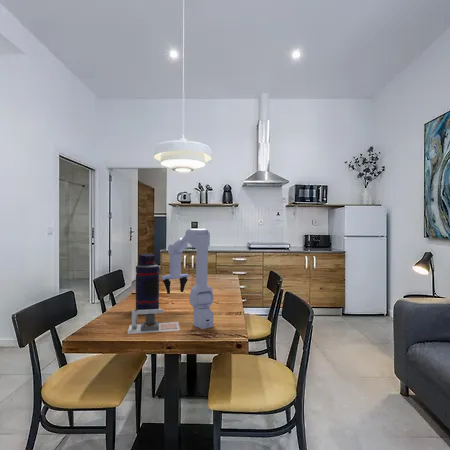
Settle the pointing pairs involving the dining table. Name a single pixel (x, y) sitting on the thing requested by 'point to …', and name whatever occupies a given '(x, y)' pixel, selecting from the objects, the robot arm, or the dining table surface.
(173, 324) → the pad
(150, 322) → the plug
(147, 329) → the dock board
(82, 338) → the dining table surface
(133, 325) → the retention clip
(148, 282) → the red-striped navy canister
